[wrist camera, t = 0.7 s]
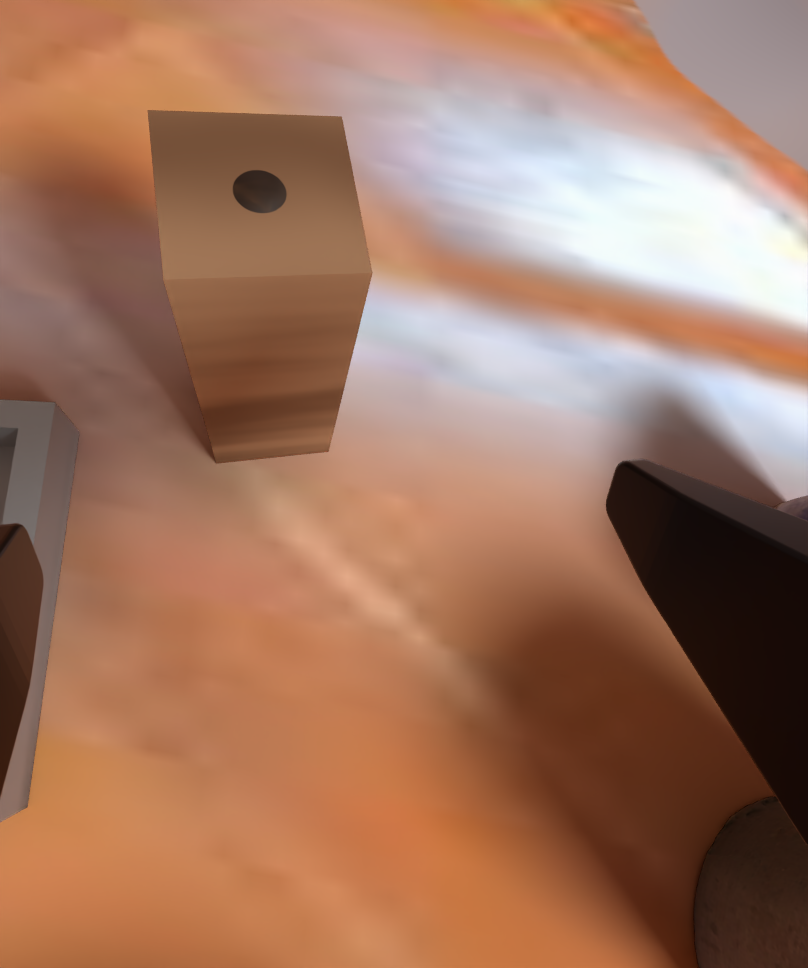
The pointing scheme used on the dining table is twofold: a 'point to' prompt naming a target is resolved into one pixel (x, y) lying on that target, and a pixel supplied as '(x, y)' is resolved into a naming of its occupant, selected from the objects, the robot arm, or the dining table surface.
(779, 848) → the pillar candle
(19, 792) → the tray
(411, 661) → the dining table surface
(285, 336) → the walnut block
